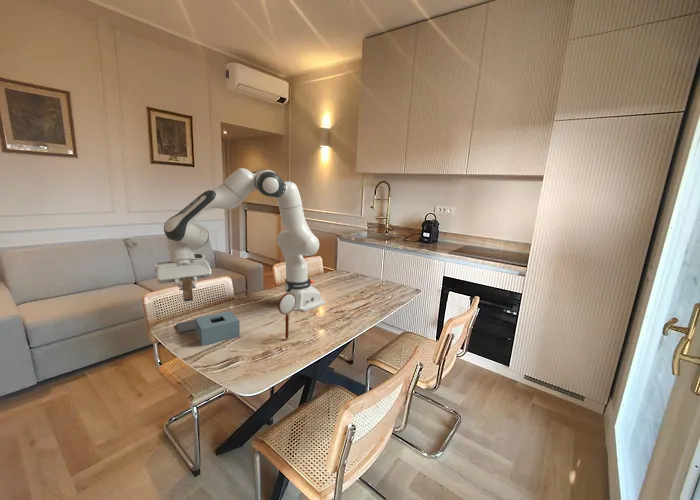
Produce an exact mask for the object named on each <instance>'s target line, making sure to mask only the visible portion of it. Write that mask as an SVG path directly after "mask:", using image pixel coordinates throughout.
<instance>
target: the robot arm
mask: <svg viewBox="0 0 700 500" xmlns="http://www.w3.org/2000/svg"><path fill="white" fill-rule="evenodd" d="M254 191H258V192H259V193H261V194H262V195H263V196H265V197H270V198H276V200H277V205H278V209H279V213H280V219H281V223H282V225H283V226H284V227H285V228H286V229H287V230H286V229H285V230H282V231H280V232H279V233H278V234H277V236H276V244H277V246H278V247H279V249H280V250H281V253H282V255H283V258H284V262H285V263H284V264H285V279H284V291H285V292H284V293H285V294H287V293H292V294H293V295H294V296H295V298H296V304H295V307H294V309H293V310H292V311H301V312H307V311H310V310H311V309H315V308H318V307H320V306H323V305H325V304H326V301H325V299H324V298H322V296H321V292H320V291H319V290H318V289H317V288H316V287H314V286H313V285H314V283H315V280H314V279H310V278H308V277H309V263H307V261H306V260H305V259H304V257H303V256H307V257H308V256H314V255H316V253H318V252H319V249H320V240H319V239H318V237H317V236H316V235H315V234H314V233H313V232H312V230H311V229H310V227H309V225H308V223H307V219H306V217H305V213H304V208H303V201H302V199H301V198H302V197H301V194H300V191H299V188H298V186H297V184H296V183H294V182H293V181H284V180H283V179H282V177H280V176H279V174H277V173H276V172H275V171H273V170H271V169H268V168H262V169H258V170H256V171H250V170H249V169H247V168H244V167H239V168H237V169H236V170H235V171H233V172H232V173H231V174H230V175H228V177H227V178H225V180H224V181H222V183H221V184H219V186H217V187H215V188H212V189H211V190H210V189H208V190H206V191H204V192H202V193H201V194H200V195H198V196H197V197H196V198H195V199H194V200H193V201H191V202H190V203H189V204H188V205H186V206H185V207H184V208H183V209H182V210H181V211H179V212H177V213H175V214H174V215H173V216H171V217H169V218H168V219H167V220H166V221H165V223H164V225H163V231H164V235H165V237H166V245H167V249H168V251H169V261H163V262H160V261H159V262H158V263H156V264H155V265H154V266H153V269H154V272H155V273H156V283H157V284H159V285H163V284H169V283H174V284H175V285H176V286H177V287H178V290H179V291H183V290H184V287H183V284H181V283H180V282H182V279H186V278H191V280H192V290H194V289H196V285H197V284H196V283H197V280H200V279H208V278H210V277H211V275H212V268H211V266H210V263H209V262H208V260H207V259H206V255H205V254H202V253H197V252H193V251H194V250H198V249H201V248H202V247H204V246H205V245H206V244H207V243H208V241H209V238H210V234H209V230H208V229H207V228H206V227H204V226H202V225H200V224H198V223H195V222H193V221H194V220H195V219H196V218H197V217H199V216H200V215H201V214H202V213H204V212H205V211H207V210H210V209H221V210H233V209H236V208H237V207H239V206H240V205H241V204H242V203H243V202H244V201H245V199H246V198H247V197H248V196H249V194H252V192H254ZM285 294H284V295H285Z"/></svg>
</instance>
